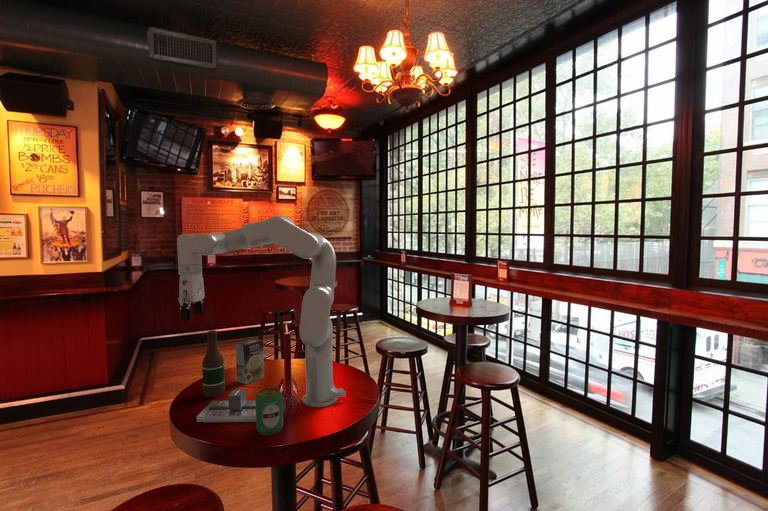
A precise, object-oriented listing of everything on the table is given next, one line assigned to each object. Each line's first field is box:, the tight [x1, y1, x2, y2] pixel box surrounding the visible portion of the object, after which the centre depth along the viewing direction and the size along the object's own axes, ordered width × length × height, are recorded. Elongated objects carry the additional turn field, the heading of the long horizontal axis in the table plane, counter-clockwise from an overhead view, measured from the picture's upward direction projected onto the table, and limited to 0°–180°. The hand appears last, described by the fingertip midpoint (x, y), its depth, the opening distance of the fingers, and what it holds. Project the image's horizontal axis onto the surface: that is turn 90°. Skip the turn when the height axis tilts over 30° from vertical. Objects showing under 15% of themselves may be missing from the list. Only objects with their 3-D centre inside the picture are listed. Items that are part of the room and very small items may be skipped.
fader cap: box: [227, 389, 247, 410], centre depth 137 cm, size 4×5×5 cm
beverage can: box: [254, 386, 284, 436], centre depth 125 cm, size 8×8×12 cm
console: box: [196, 399, 256, 423], centre depth 137 cm, size 24×12×4 cm, turn 90°
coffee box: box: [235, 338, 265, 385], centre depth 167 cm, size 9×6×16 cm
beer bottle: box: [201, 329, 226, 399], centre depth 153 cm, size 8×8×24 cm
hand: (192, 317), depth 145 cm, fingers open, 9 cm apart
